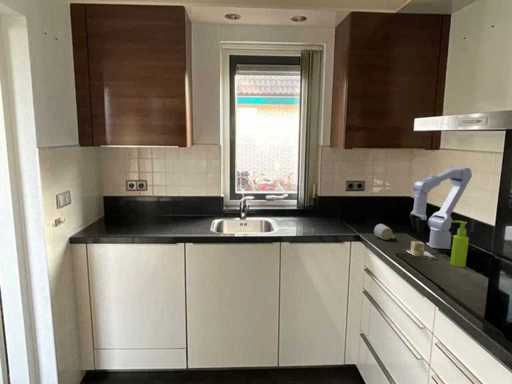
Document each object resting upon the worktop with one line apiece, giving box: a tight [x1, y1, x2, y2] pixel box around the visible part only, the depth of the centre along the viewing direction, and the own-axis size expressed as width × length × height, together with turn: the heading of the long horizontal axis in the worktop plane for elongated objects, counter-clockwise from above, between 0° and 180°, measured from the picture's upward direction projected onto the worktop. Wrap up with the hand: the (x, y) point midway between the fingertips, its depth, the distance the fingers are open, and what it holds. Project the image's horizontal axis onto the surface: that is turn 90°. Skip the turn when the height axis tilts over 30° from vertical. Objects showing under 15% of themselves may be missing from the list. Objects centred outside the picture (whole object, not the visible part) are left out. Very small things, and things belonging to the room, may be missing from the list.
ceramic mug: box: [373, 223, 396, 241], centre depth 192 cm, size 11×8×8 cm
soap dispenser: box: [450, 220, 470, 268], centre depth 151 cm, size 6×7×20 cm
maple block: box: [409, 240, 426, 256], centre depth 164 cm, size 4×4×6 cm
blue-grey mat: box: [405, 249, 435, 258], centre depth 165 cm, size 14×12×1 cm
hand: (417, 230), depth 174 cm, fingers open, 7 cm apart
